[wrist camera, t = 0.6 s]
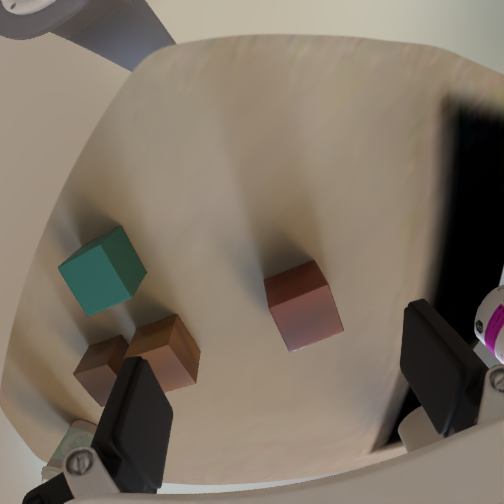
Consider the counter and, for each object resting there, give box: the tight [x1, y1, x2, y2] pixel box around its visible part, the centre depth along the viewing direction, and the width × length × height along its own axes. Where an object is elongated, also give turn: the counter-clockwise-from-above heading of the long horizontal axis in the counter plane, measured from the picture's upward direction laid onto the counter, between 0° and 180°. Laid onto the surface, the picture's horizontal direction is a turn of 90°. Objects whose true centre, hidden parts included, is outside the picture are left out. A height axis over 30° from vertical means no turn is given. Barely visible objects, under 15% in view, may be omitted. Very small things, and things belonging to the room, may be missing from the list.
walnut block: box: [73, 335, 129, 407], centre depth 30 cm, size 5×5×5 cm
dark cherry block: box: [264, 260, 344, 352], centre depth 28 cm, size 5×5×5 cm
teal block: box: [58, 226, 147, 316], centre depth 26 cm, size 5×5×5 cm
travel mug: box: [398, 406, 445, 453], centre depth 31 cm, size 8×8×18 cm
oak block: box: [123, 314, 201, 392], centre depth 29 cm, size 5×5×5 cm
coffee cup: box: [41, 420, 97, 484], centre depth 32 cm, size 8×9×12 cm
